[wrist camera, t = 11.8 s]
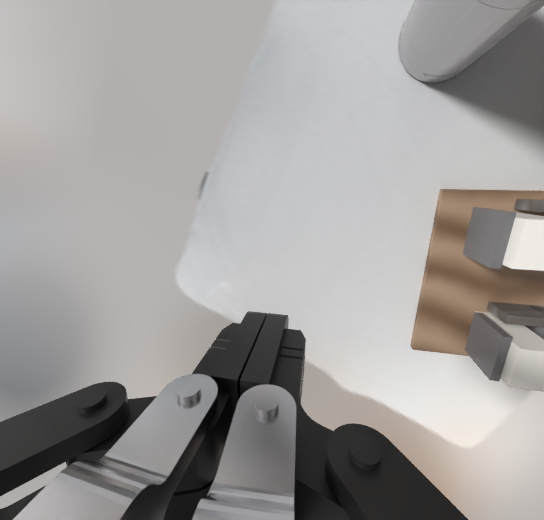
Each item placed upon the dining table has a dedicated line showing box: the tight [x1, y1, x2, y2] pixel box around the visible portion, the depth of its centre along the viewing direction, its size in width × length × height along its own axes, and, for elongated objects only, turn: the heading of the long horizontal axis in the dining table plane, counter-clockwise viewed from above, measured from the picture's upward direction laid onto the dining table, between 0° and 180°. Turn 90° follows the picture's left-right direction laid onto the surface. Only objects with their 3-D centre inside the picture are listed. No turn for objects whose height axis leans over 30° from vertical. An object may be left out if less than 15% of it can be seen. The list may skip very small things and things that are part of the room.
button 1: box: [465, 311, 544, 391], centre depth 33 cm, size 6×5×9 cm
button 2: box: [463, 207, 544, 271], centre depth 30 cm, size 6×5×9 cm
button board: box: [411, 189, 544, 356], centre depth 31 cm, size 25×16×11 cm, turn 179°
